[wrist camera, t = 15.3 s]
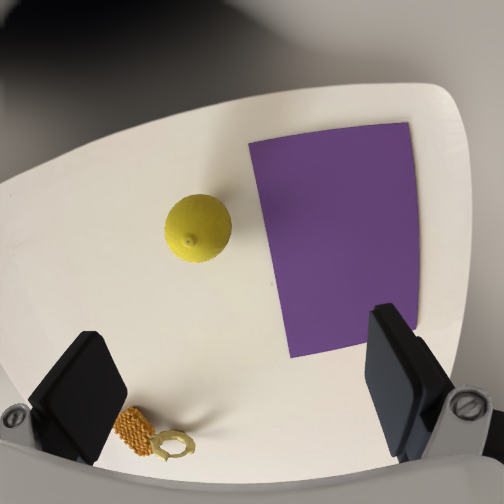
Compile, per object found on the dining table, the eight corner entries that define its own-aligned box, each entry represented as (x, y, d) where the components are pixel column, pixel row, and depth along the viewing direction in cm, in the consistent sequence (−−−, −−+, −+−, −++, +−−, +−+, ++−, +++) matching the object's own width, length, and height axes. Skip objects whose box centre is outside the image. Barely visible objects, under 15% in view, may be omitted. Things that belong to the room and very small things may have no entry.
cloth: (248, 143, 27) (248, 143, 27) (406, 122, 25) (407, 122, 25) (290, 356, 34) (290, 358, 34) (415, 328, 33) (416, 329, 33)
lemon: (175, 191, 28) (146, 208, 21) (232, 186, 28) (222, 200, 21) (182, 246, 30) (159, 279, 23) (237, 242, 30) (230, 275, 22)
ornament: (104, 454, 37) (187, 487, 34) (92, 406, 36) (182, 441, 32) (125, 434, 44) (203, 460, 40) (117, 387, 42) (201, 414, 39)
